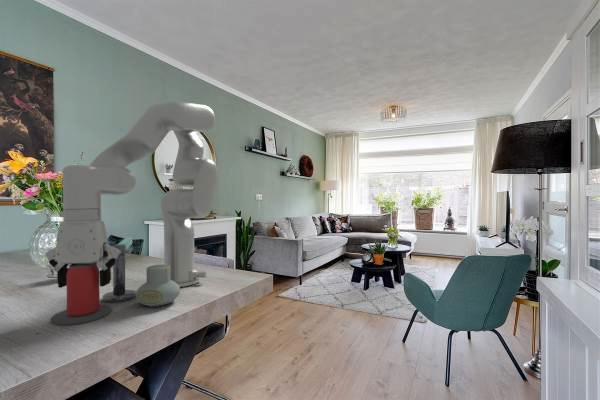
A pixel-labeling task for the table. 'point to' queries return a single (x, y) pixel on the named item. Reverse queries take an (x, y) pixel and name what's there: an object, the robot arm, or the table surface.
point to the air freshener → (158, 287)
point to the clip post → (119, 284)
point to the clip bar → (124, 245)
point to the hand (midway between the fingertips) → (84, 285)
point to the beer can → (82, 289)
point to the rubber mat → (65, 319)
